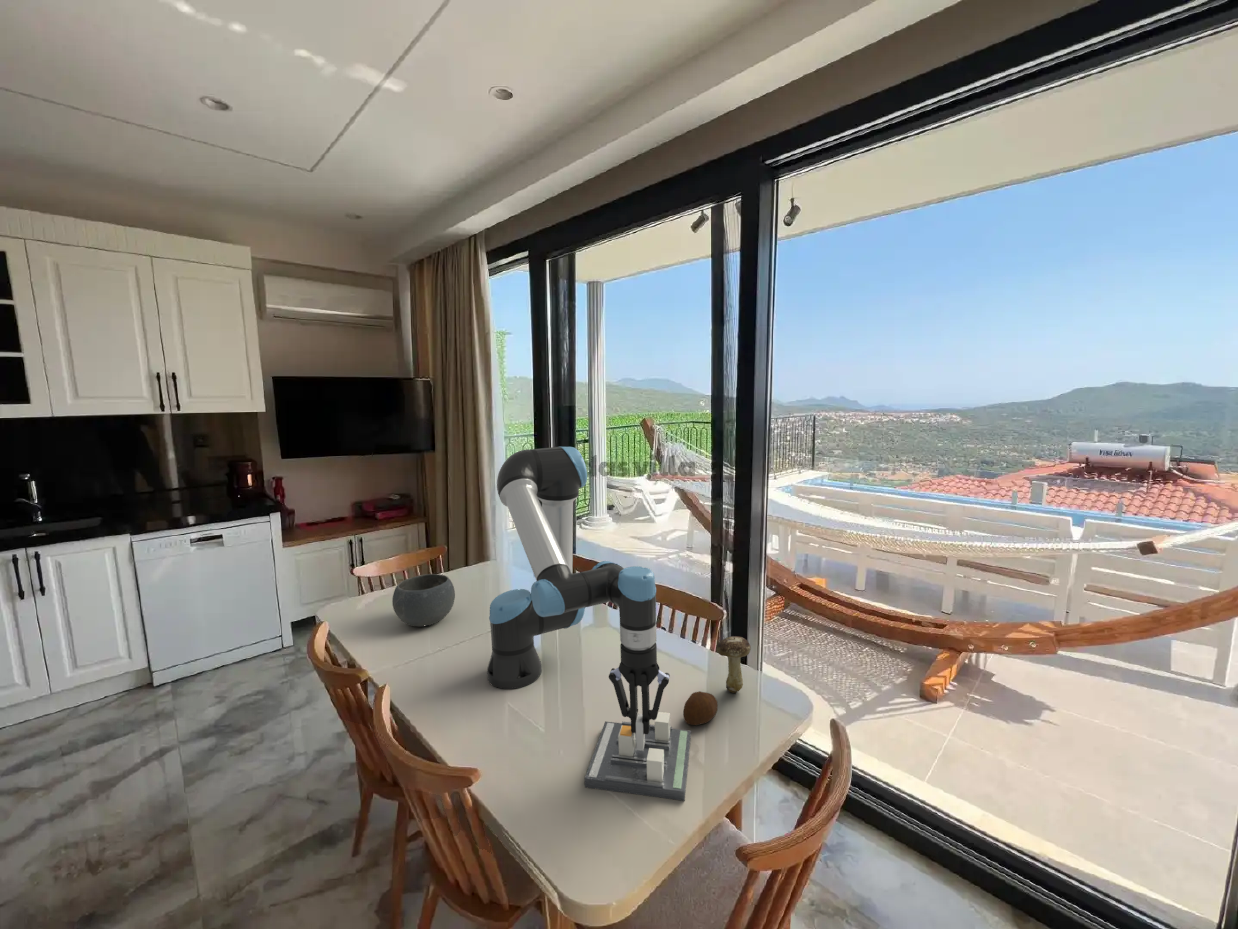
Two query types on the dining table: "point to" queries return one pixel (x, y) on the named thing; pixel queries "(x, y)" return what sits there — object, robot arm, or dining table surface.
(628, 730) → the block
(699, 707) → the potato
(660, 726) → the block
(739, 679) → the mushroom
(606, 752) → the panel
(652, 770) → the breaker
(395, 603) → the bowl
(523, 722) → the dining table surface
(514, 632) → the robot arm
